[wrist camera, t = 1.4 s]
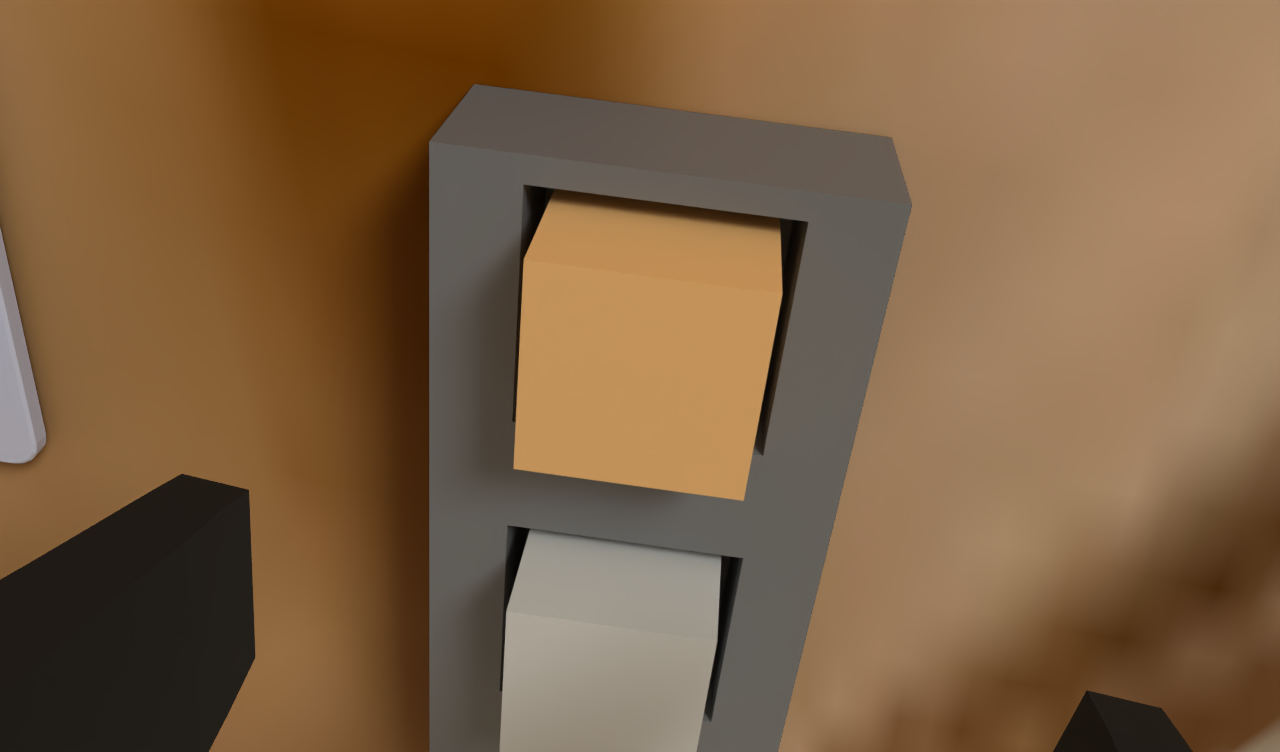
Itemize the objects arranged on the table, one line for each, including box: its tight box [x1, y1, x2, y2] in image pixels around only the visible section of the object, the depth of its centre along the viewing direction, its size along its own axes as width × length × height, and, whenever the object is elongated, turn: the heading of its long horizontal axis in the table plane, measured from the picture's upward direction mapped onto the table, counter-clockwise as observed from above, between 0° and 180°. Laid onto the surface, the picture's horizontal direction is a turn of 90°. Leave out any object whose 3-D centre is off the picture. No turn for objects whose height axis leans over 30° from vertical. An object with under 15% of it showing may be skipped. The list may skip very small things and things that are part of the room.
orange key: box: [513, 189, 783, 501], centre depth 14 cm, size 3×3×2 cm
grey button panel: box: [429, 84, 912, 752], centre depth 19 cm, size 6×15×2 cm, turn 174°
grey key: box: [500, 528, 721, 752], centre depth 17 cm, size 3×3×2 cm
